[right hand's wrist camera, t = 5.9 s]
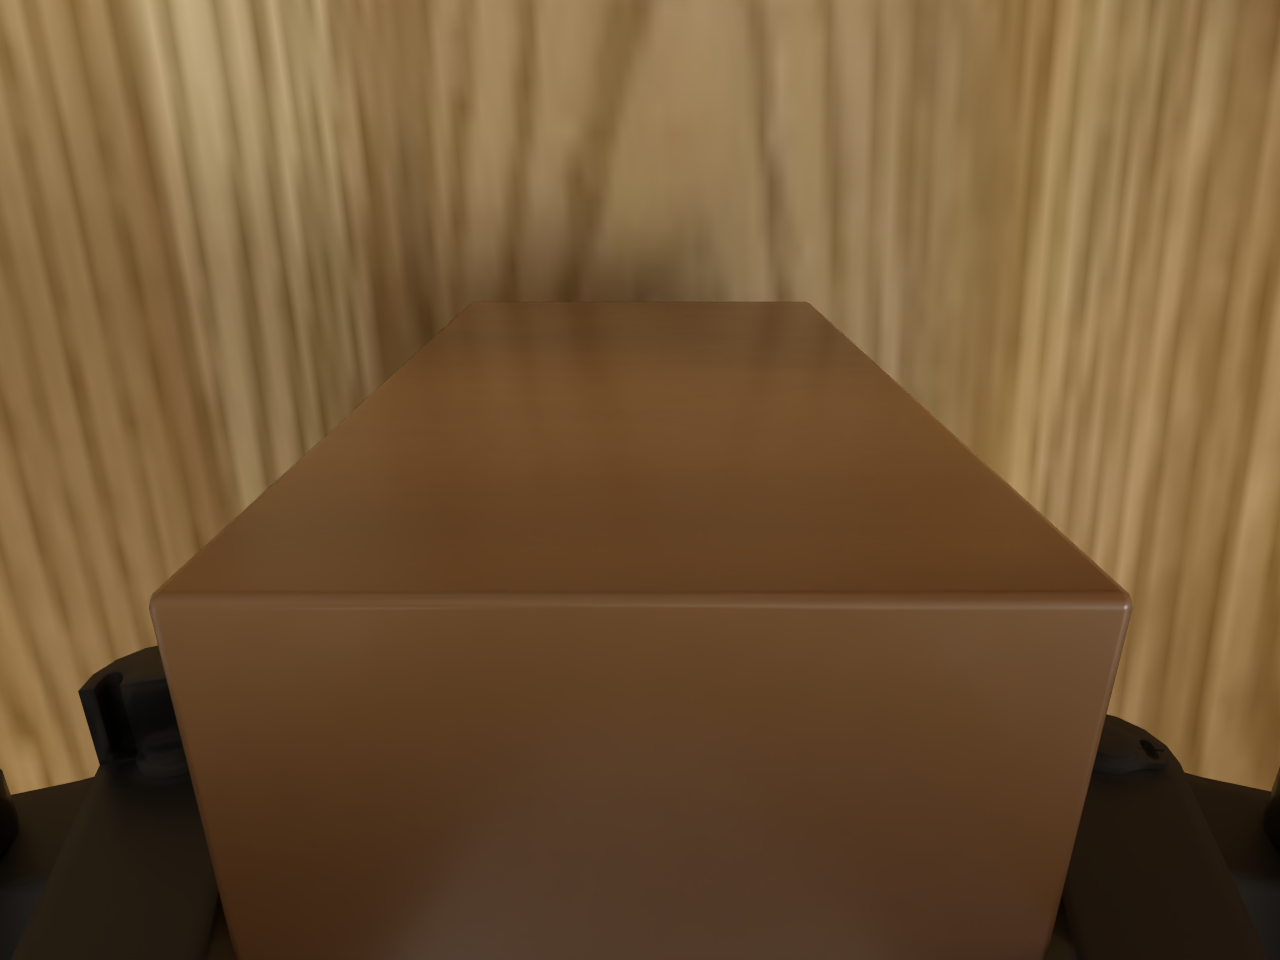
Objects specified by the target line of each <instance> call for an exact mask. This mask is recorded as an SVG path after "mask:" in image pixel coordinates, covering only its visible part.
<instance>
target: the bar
mask: <svg viewBox="0 0 1280 960" xmlns="http://www.w3.org/2000/svg"><path fill="white" fill-rule="evenodd" d="M149 610H150V614H151V618H152V622H153V626H154V630H155V634H156V638H157V642H158V646H159V650H160V655H161V659H162V663H163V667H164V671H165V675H166V679H167V683H168V687H169V691H170V695H171V699H172V703H173V707H174V711H175V715H176V719H177V724H178V728H179V732H180V736H181V740H182V744H183V748H184V752H185V756H186V760H187V764H188V768H189V772H190V776H191V780H192V784H193V789H194V793H195V797H196V801H197V805H198V809H199V813H200V817H201V821H202V825H203V829H204V833H205V837H206V841H207V845H208V849H209V853H210V858H211V862H212V866H213V870H214V874H215V878H216V882H217V886H218V890H219V894H220V898H221V902H222V906H223V910H224V914H225V918H226V922H227V927H228V931H229V935H230V939H231V943H232V947H233V951H234V955H235V959H236V960H1046V956H1047V952H1048V948H1049V944H1050V940H1051V936H1052V932H1053V928H1054V924H1055V920H1056V916H1057V912H1058V908H1059V904H1060V900H1061V895H1062V891H1063V887H1064V883H1065V879H1066V875H1067V871H1068V867H1069V863H1070V859H1071V855H1072V851H1073V847H1074V843H1075V839H1076V835H1077V831H1078V827H1079V823H1080V819H1081V814H1082V810H1083V806H1084V802H1085V798H1086V794H1087V790H1088V786H1089V782H1090V778H1091V774H1092V770H1093V766H1094V762H1095V758H1096V754H1097V750H1098V746H1099V742H1100V738H1101V733H1102V729H1103V725H1104V721H1105V717H1106V713H1107V709H1108V705H1109V701H1110V697H1111V693H1112V689H1113V685H1114V681H1115V677H1116V673H1117V669H1118V665H1119V661H1120V657H1121V652H1122V648H1123V644H1124V640H1125V636H1126V632H1127V628H1128V624H1129V620H1130V616H1131V612H1132V602H1131V598H1130V596H1129V593H1127V592H1126V591H1125V590H1124V589H1123V588H1122V587H1121V586H1120V585H1119V584H1118V583H1116V582H1115V581H1114V580H1113V579H1112V578H1111V577H1110V576H1109V575H1108V574H1107V573H1105V572H1104V571H1103V570H1102V569H1101V568H1100V567H1099V566H1098V565H1097V564H1096V563H1094V562H1093V561H1092V560H1091V559H1090V558H1089V557H1088V556H1087V555H1086V554H1085V553H1083V552H1082V551H1081V550H1080V549H1079V548H1078V547H1077V546H1076V545H1075V544H1074V543H1072V542H1071V541H1070V540H1069V539H1068V538H1067V537H1066V536H1065V535H1064V534H1063V533H1061V532H1060V531H1059V530H1058V529H1057V528H1056V527H1055V526H1054V525H1053V524H1052V523H1050V522H1049V521H1048V520H1047V519H1046V518H1045V517H1044V516H1043V515H1042V514H1041V513H1039V512H1038V511H1037V510H1036V509H1035V508H1034V507H1033V506H1032V505H1031V504H1030V503H1028V502H1027V501H1026V500H1025V499H1024V498H1023V497H1022V496H1021V495H1020V494H1019V493H1017V492H1016V491H1015V490H1014V489H1013V488H1012V487H1011V486H1010V485H1009V484H1008V483H1006V482H1005V481H1004V480H1003V479H1002V478H1001V477H1000V476H999V475H998V474H997V473H995V472H994V471H993V470H992V469H991V468H990V467H989V466H988V465H987V464H986V463H984V462H983V461H982V460H981V459H980V458H979V457H978V456H977V455H976V454H975V453H973V452H972V451H971V450H970V449H969V448H968V447H967V446H966V445H965V444H964V443H962V442H961V441H960V440H959V439H958V438H957V437H956V436H955V435H954V434H953V433H951V432H950V431H949V430H948V429H947V428H946V427H945V426H944V425H943V424H942V423H940V422H939V421H938V420H937V419H936V418H935V417H934V416H933V415H932V414H931V413H929V412H928V411H927V410H926V409H925V408H924V407H923V406H922V405H921V404H920V403H918V402H917V401H916V400H915V399H914V398H913V397H912V396H911V395H910V394H908V393H907V392H906V391H905V390H904V389H903V388H902V387H901V386H900V385H899V384H897V383H896V382H895V381H894V380H893V379H892V378H891V377H890V376H889V375H888V374H886V373H885V372H884V371H883V370H882V369H881V368H880V367H879V366H878V365H877V364H875V363H874V362H873V361H872V360H871V359H870V358H869V357H868V356H867V355H866V354H864V353H863V352H862V351H861V350H860V349H859V348H858V347H857V346H856V345H855V344H853V343H852V342H851V341H850V340H849V339H848V338H847V337H846V336H845V335H844V334H842V333H841V332H840V331H839V330H838V329H837V328H836V327H835V326H834V325H833V324H831V323H830V322H829V321H828V320H827V319H826V318H825V317H824V316H823V315H822V314H820V313H819V312H818V311H817V310H816V309H815V308H814V307H813V306H812V305H811V304H809V303H807V302H473V303H471V304H470V305H469V306H468V307H467V308H466V309H465V310H463V311H462V312H461V313H460V314H459V315H458V316H457V317H456V318H455V319H454V320H452V321H451V322H450V323H449V324H448V325H447V326H446V327H445V328H444V329H443V330H441V331H440V332H439V333H438V334H437V335H436V336H435V337H434V338H433V339H432V340H431V341H429V342H428V343H427V344H426V345H425V346H424V347H423V348H422V349H421V350H420V351H418V352H417V353H416V354H415V355H414V356H413V357H412V358H411V359H410V360H409V361H407V362H406V363H405V364H404V365H403V366H402V367H401V368H400V369H399V370H398V371H397V372H395V373H394V374H393V375H392V376H391V377H390V378H389V379H388V380H387V381H386V382H384V383H383V384H382V385H381V386H380V387H379V388H378V389H377V390H376V391H375V392H373V393H372V394H371V395H370V396H369V397H368V398H367V399H366V400H365V401H364V402H363V403H361V404H360V405H359V406H358V407H357V408H356V409H355V410H354V411H353V412H352V413H350V414H349V415H348V416H347V417H346V418H345V419H344V420H343V421H342V422H341V423H339V424H338V425H337V426H336V427H335V428H334V429H333V430H332V431H331V432H330V433H329V434H327V435H326V436H325V437H324V438H323V439H322V440H321V441H320V442H319V443H318V444H316V445H315V446H314V447H313V448H312V449H311V450H310V451H309V452H308V453H307V454H305V455H304V456H303V457H302V458H301V459H300V460H299V461H298V462H297V463H296V464H295V465H293V466H292V467H291V468H290V469H289V470H288V471H287V472H286V473H285V474H284V475H282V476H281V477H280V478H279V479H278V480H277V481H276V482H275V483H274V484H273V485H271V486H270V487H269V488H268V489H267V490H266V491H265V492H264V493H263V494H262V495H261V496H259V497H258V498H257V499H256V500H255V501H254V502H253V503H252V504H251V505H250V506H248V507H247V508H246V509H245V510H244V511H243V512H242V513H241V514H240V515H239V516H237V517H236V518H235V519H234V520H233V521H232V522H231V523H230V524H229V525H228V526H227V527H225V528H224V529H223V530H222V531H221V532H220V533H219V534H218V535H217V536H216V537H214V538H213V539H212V540H211V541H210V542H209V543H208V544H207V545H206V546H205V547H203V548H202V549H201V550H200V551H199V552H198V553H197V554H196V555H195V556H194V557H193V558H191V559H190V560H189V561H188V562H187V563H186V564H185V565H184V566H183V567H182V568H180V569H179V570H178V571H177V572H176V573H175V574H174V575H173V576H172V577H171V578H169V579H168V580H167V581H166V582H165V583H164V584H163V585H162V586H161V587H160V588H159V589H157V590H156V591H155V592H154V593H153V594H152V597H151V600H150V606H149Z"/></svg>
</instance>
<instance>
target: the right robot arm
mask: <svg viewBox="0 0 1280 960" xmlns="http://www.w3.org/2000/svg"><path fill="white" fill-rule="evenodd" d="M78 692H79V695H80V699H81V702H82V706H83V709H84V712H85V716H86V719H87V723H88V726H89V729H90V733H91V736H92V740H93V743H94V746H95V750H96V753H97V757H98V760H99V763H100V766H99V768H98V770H97V773H96V775H95V777H92V778H88V779H84V780H81V781H76V782H71V783H67V784H62V785H57V786H52V787H47V788H43V789H38V790H33V791H28V792H23V793H19V794H14V795H10V792H9V789H8V786H7V783H6V780H5V777H4V775H3V772H2V770H1V769H0V960H236V959H235V955H234V951H233V947H232V943H231V939H230V935H229V931H228V927H227V922H226V918H225V914H224V910H223V906H222V902H221V898H220V894H219V890H218V886H217V882H216V878H215V874H214V870H213V866H212V862H211V858H210V853H209V849H208V845H207V841H206V837H205V833H204V829H203V825H202V821H201V817H200V813H199V809H198V805H197V801H196V797H195V793H194V789H193V784H192V780H191V776H190V772H189V768H188V764H187V760H186V756H185V752H184V748H183V744H182V740H181V736H180V732H179V728H178V724H177V719H176V715H175V711H174V707H173V703H172V699H171V695H170V691H169V687H168V683H167V679H166V675H165V671H164V667H163V663H162V659H161V655H160V650H159V646H154V647H149V648H145V649H143V650H140V651H138V652H135V653H133V654H130V655H128V656H125V657H123V658H120V659H118V660H116V661H114V662H113V663H111V664H109V665H108V666H106V667H105V668H103V669H101V670H100V671H98V672H97V673H95V674H93V675H92V677H91V678H90V679H89V680H88V681H87V682H86V683H85V684H84V685H83V687H82V688H81V689H80V690H79V691H78ZM1046 960H1280V768H1279V771H1278V774H1277V777H1276V780H1275V782H1274V785H1273V788H1272V791H1271V792H1270V791H1265V790H1261V789H1256V788H1251V787H1246V786H1241V785H1236V784H1232V783H1227V782H1222V781H1217V780H1212V779H1208V778H1203V777H1199V776H1195V775H1192V774H1188V773H1184V771H1183V769H1182V767H1181V765H1180V763H1179V762H1178V760H1177V759H1176V758H1175V756H1174V755H1173V754H1172V752H1171V751H1170V750H1169V749H1168V747H1167V746H1166V745H1165V744H1163V743H1162V742H1160V741H1159V740H1158V739H1156V738H1155V737H1154V736H1152V735H1151V734H1150V733H1148V732H1147V731H1145V730H1144V729H1142V728H1140V727H1137V726H1135V725H1133V724H1131V723H1129V722H1127V721H1124V720H1122V719H1120V718H1118V717H1115V716H1111V715H1107V714H1106V717H1105V721H1104V725H1103V729H1102V733H1101V738H1100V742H1099V746H1098V750H1097V754H1096V758H1095V762H1094V766H1093V770H1092V774H1091V778H1090V782H1089V786H1088V790H1087V794H1086V798H1085V802H1084V806H1083V810H1082V814H1081V819H1080V823H1079V827H1078V831H1077V835H1076V839H1075V843H1074V847H1073V851H1072V855H1071V859H1070V863H1069V867H1068V871H1067V875H1066V879H1065V883H1064V887H1063V891H1062V895H1061V900H1060V904H1059V908H1058V912H1057V916H1056V920H1055V924H1054V928H1053V932H1052V936H1051V940H1050V944H1049V948H1048V952H1047V956H1046Z"/></svg>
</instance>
